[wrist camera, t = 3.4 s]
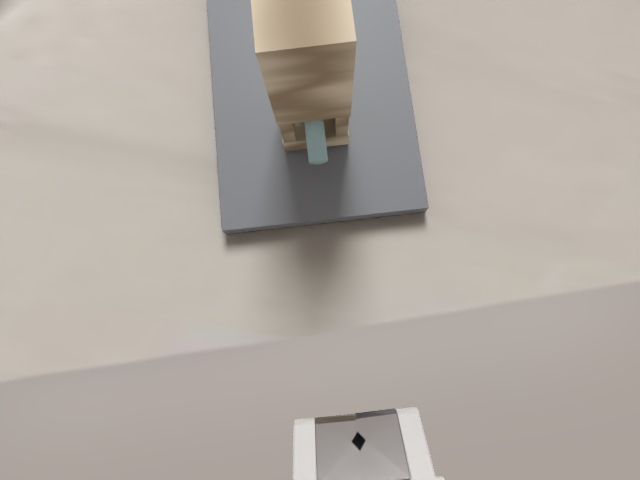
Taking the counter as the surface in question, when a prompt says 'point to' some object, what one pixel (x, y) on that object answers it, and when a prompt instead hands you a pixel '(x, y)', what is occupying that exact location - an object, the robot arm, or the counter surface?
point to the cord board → (313, 132)
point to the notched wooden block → (307, 65)
